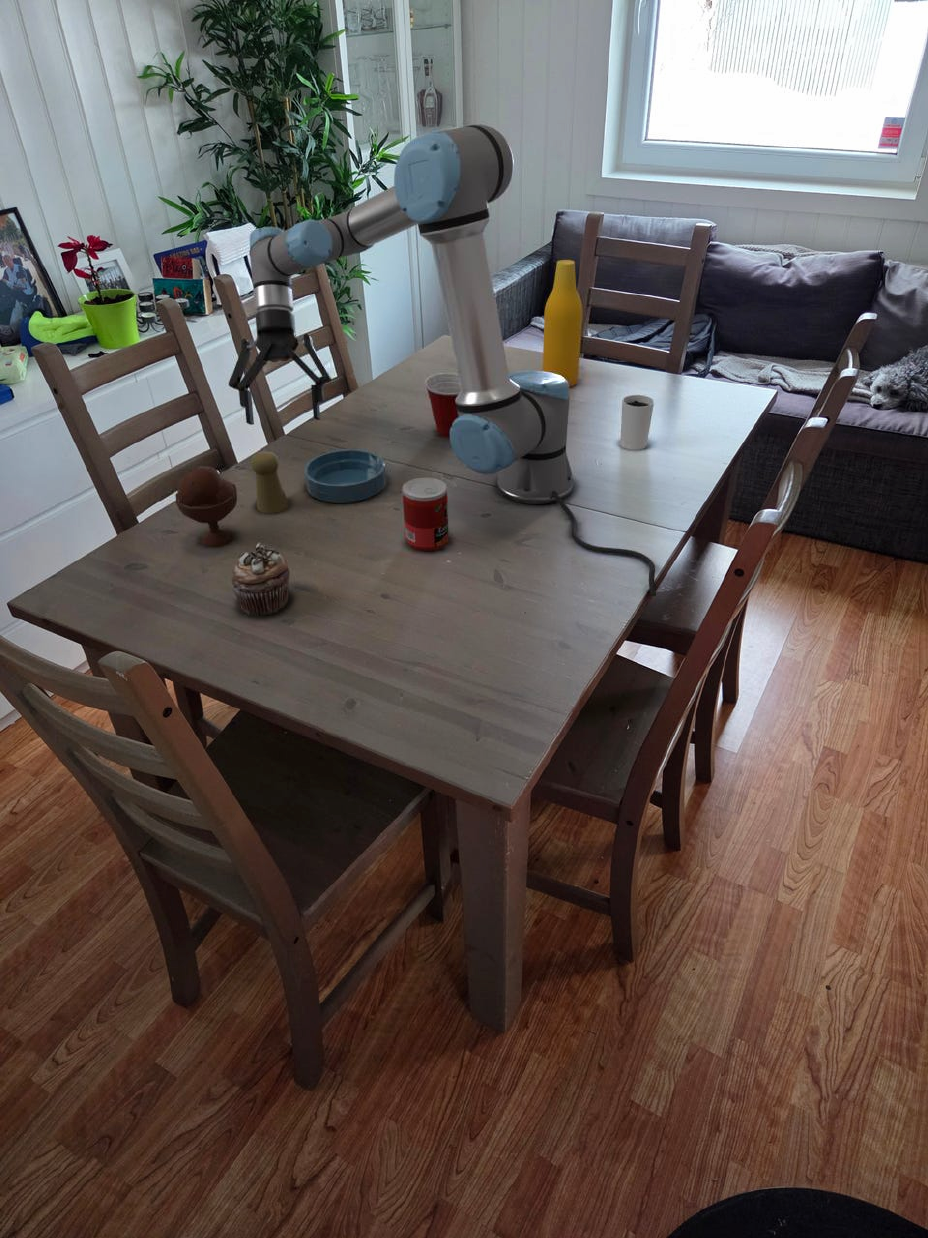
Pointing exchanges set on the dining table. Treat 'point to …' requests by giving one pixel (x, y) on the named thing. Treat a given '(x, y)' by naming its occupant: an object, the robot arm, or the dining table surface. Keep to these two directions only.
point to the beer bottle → (563, 325)
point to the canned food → (426, 513)
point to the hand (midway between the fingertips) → (283, 421)
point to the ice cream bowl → (207, 501)
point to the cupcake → (261, 581)
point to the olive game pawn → (268, 483)
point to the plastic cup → (444, 399)
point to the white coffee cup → (635, 421)
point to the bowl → (345, 475)
